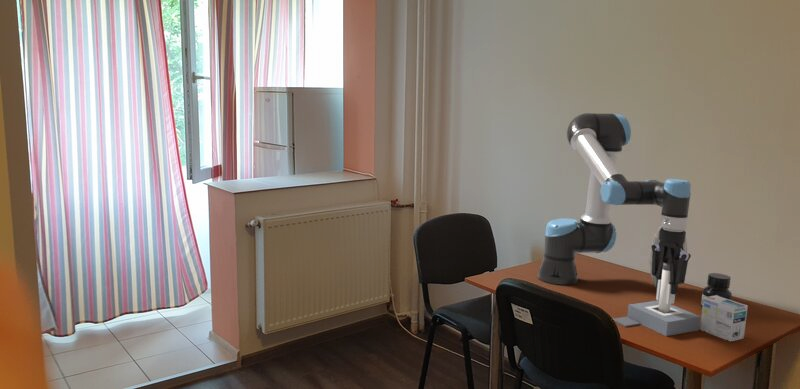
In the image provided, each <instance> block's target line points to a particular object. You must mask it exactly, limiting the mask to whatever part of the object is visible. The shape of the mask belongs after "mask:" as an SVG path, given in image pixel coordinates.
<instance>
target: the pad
mask: <svg viewBox="0 0 800 389" xmlns="http://www.w3.org/2000/svg"><path fill="white" fill-rule="evenodd" d="M612 319H613V320H614V321H615V323H616V324H618V325H620V326H623V327H624V328H627V327H633V326H639V325H641V324H640V323H639V322H637V321H634V320H632V319H630V318H628V317H627V316H622V317H615V318H612ZM614 321H613V322H614Z"/></svg>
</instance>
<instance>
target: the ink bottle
mask: <svg viewBox="0 0 800 389" xmlns="http://www.w3.org/2000/svg"><path fill="white" fill-rule="evenodd" d="M706 284H707V286H704V288H703V289H702V295H701V304H700V306H701V308H703V299H704V297H710V296H715V295H717V296H720V297H723V298H726V299H729V300H733V299H732V298H733V296H732V295H733V294H732V291H730V285H731V276H730V275H728V274H723V273H717V272H710V273H708V274H707V283H706Z"/></svg>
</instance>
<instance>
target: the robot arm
mask: <svg viewBox="0 0 800 389" xmlns="http://www.w3.org/2000/svg"><path fill="white" fill-rule="evenodd" d="M630 124H631V123H630V122H629V120H628V119H627V117H626V116H624V115H622V114H619V113H618V114H617V113H591V112H590V113H588V112H585V113H581V114H578V115H577V116H575V117H574V118H573V119H571V121H570V122H569V125H568V126H567V129H566V130H567V131H566V138H567V142H568V144H569V145H570V147H571V148H572V149H573V150H574V151H577V152H578V153H579V155H580V156H581V157H582V159H583V161H585V164H586V165H587V166H588V167H589V169H590V173H589V174H590V175H589V182H588V188H587V195H586V196H587V197H586V204H585V211H584V214H582V215H581V216H580V220H579V221H578V220H577V219H574V218H565V217H564V218H556V219H551V220H550V221H548V222H547V224H546V227H545V232H544V234H545V237H544V249H543V251H544V252H543V259H542V262H541V264H540V267H539V269H538V271H537V278H538V280H540V281H543V282H546V283H548V284H554V285H562V286H563V285H564V286H565V285H566V286H567V285H574V284H576V283H578V281H579V279H578V278H579V275H578V270H577V265H576V263H575V258H576V254H583V253H584V254H586V253H587V254H590V253H595V254H599V253H600V254H601V253H607V252H609V251H610V250H612V248H614V245H615V244H616V240H617V232H616V226H615V225H614V223H612V222H613V220H612V219H611V218H610V217H609V214H610V213H609V212H610V206H611V205H614V206H623V205H628V206H630V205H638V206H639V205H641V206H643V205H644V206H645V205H646V206H651V205H653V206H654V205H655V206H659V207H661V214H660V215H661V216H660V223H659V224H660V226H661V227H662V228H661V229H660V232H659V240H660V242H659V244H658V245H652V246H650V248H651V247H652V252H653V255H652V275H654V276H655V277H656V279H657V281H656V287H655V288H656V297H655V299H656V300H655V301H657V300H659V297H660V288H661V279H662V268H663V262H668V261H669V262H670V280H671V282H669V283H668V290H667V299H666V304H671V305H673V304H675V299H676V298H675V297H676V295H677V294H678V287H679V285H681V284H684V283H685V280H686V274H687V269H688V264H689V263H688V262H689V260H690V258H691V256H692V255H691V253H688V252H687V253H685V252H684V248H683V244H684V242H685V236H687V235H686V234H687V231H686V230H687V228H688V227H687V226H688V216H689V215H688V214H689V208H690V201H691V200H690V199H691V195H692V194H691V190H692V189H691V187H692V183H691V182H690V181H688V180H685V179H680V178H666V180H664V182H661V181H659V180H656V179H655V180H654V179H646V180H644V181H638V180H637V181H636V180H635V181H633V180H632V181H631V180H628V179H627V178H626V177H625V175H624V174H623V173H622V172H621V170H620V169H619V168H618V166H617V165H616V161H617V156H618V155H619V154H621V153H622V150H623V147H624V146H626V145H628V144H629V142H630V140H631V136H632V128H631V125H630ZM660 226H659V227H660ZM680 255H681V256H680Z"/></svg>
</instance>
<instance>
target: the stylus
mask: <svg viewBox="0 0 800 389" xmlns="http://www.w3.org/2000/svg"><path fill="white" fill-rule="evenodd" d="M669 282H671V280H670V262H663V268H662V279H661V288H660V297H659V307H658V311H659V312H662V313H664V314H665V313H670V304H666V299H667V290H668V283H669Z"/></svg>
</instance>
